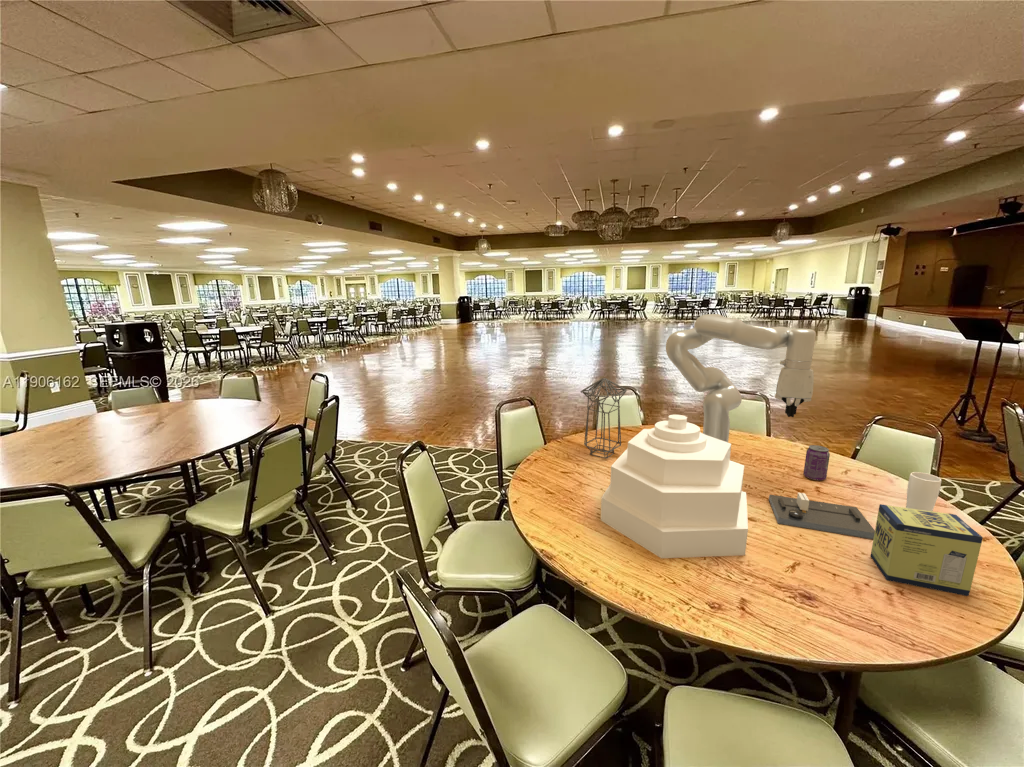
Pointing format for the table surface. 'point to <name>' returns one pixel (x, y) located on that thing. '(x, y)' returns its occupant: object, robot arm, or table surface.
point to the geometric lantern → (596, 385)
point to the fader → (802, 501)
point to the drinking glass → (922, 491)
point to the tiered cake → (678, 493)
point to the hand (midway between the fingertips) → (790, 415)
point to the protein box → (925, 549)
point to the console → (821, 517)
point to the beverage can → (816, 462)
